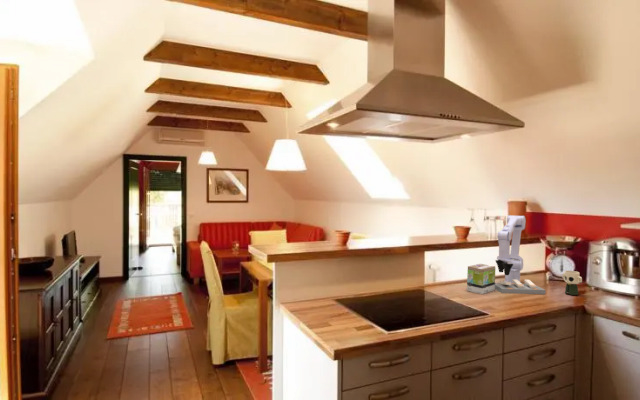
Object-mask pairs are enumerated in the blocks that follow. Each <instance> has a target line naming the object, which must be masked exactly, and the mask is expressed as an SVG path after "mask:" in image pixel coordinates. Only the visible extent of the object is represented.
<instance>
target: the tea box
mask: <svg viewBox="0 0 640 400" xmlns="http://www.w3.org/2000/svg"><path fill="white" fill-rule="evenodd" d="M466 275H467V277H466V291H467V292H471V293H475V294H479V295H484V294H488V293H489V292H493V291H495V290H496V289H495V283H496V266H495V265H489V264H483V263H477V264H473V265H472V264H471V265H469V266H468V265H467V273H466Z"/></svg>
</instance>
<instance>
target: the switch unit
mask: <svg viewBox="0 0 640 400" xmlns="http://www.w3.org/2000/svg"><path fill="white" fill-rule="evenodd" d="M521 283H522V282H521ZM522 284H523V285H524V288H518V287H517V286H516V285H515V284H514V283H511V285H505V284H500V282H495V290H496V291H497V292H499V293H501V294H514V295H515V294H518V295H519V294H521V295H523V294H524V295H546V289H545V288H542V287H540V286H538V285H536V288H531V287H529V286H528V285H527V284H526V283H525V282H524V283H522Z"/></svg>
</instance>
